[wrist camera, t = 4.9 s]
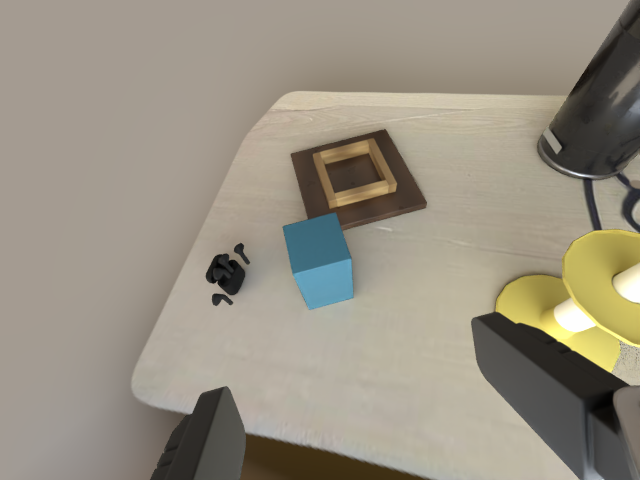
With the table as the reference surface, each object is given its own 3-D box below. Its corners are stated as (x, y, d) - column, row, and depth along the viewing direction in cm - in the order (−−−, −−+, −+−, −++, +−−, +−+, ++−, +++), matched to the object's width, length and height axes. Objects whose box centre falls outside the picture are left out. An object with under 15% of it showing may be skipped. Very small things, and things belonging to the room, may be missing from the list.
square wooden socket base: (385, 134, 43) (386, 119, 41) (425, 208, 36) (430, 194, 34) (291, 158, 43) (288, 145, 40) (313, 238, 35) (310, 226, 33)
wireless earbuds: (231, 315, 32) (211, 299, 27) (210, 310, 32) (187, 293, 28) (255, 257, 35) (240, 235, 31) (236, 254, 35) (218, 231, 31)
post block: (341, 258, 33) (335, 211, 26) (353, 298, 31) (351, 258, 23) (300, 270, 33) (282, 225, 26) (309, 310, 31) (292, 274, 23)
